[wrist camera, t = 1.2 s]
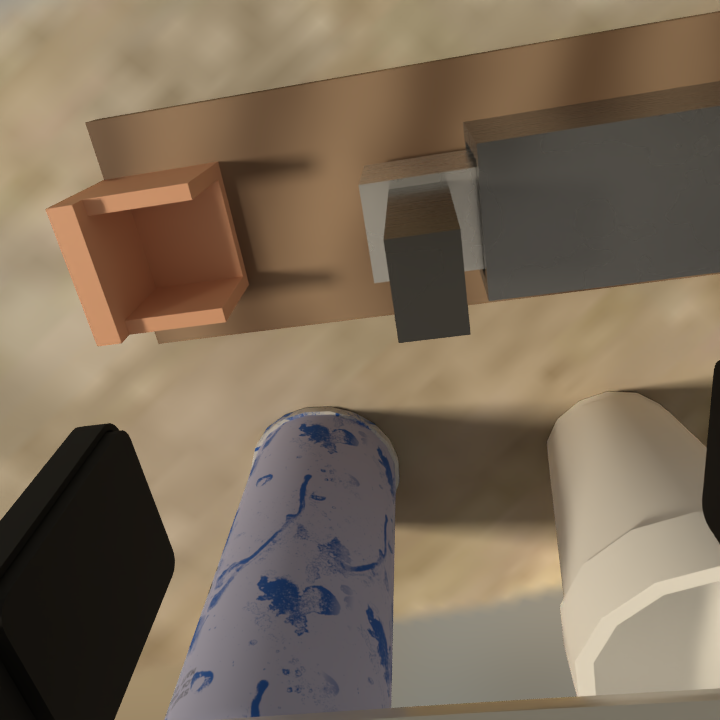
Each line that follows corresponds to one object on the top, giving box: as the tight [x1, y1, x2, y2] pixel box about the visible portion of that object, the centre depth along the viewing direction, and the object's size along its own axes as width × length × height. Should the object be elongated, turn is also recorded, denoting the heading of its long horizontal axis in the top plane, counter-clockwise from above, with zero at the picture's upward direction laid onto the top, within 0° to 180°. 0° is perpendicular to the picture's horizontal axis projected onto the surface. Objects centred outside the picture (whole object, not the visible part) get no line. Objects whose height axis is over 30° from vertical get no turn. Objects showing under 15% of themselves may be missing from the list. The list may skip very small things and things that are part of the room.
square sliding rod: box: [359, 149, 485, 343], centre depth 21 cm, size 16×4×10 cm, turn 99°
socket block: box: [46, 162, 249, 346], centre depth 26 cm, size 5×5×5 cm
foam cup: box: [547, 391, 720, 697], centre depth 27 cm, size 10×9×13 cm
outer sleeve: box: [463, 81, 720, 301], centre depth 23 cm, size 12×5×5 cm, turn 99°
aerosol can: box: [165, 407, 399, 720], centre depth 26 cm, size 8×8×20 cm
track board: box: [86, 11, 720, 344], centre depth 27 cm, size 27×10×1 cm, turn 99°
